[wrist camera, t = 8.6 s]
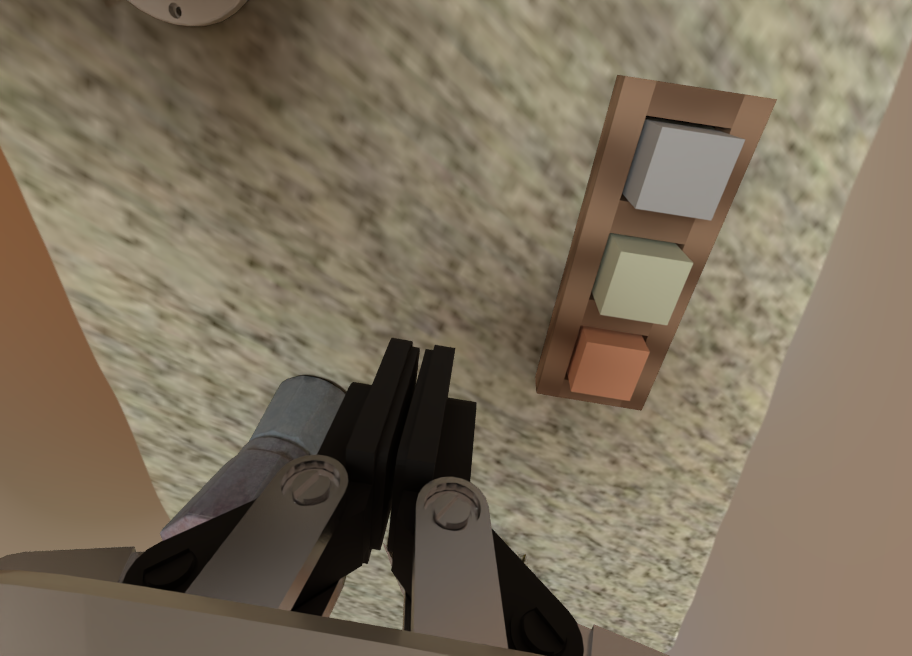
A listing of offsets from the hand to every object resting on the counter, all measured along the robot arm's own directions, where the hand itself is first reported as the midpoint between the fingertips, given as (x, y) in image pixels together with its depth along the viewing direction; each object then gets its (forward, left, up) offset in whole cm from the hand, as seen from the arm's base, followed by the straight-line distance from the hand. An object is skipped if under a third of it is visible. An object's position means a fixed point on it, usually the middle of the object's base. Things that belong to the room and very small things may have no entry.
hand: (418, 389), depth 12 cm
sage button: (+9, -11, -26) cm, 29 cm away
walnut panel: (+9, -11, -27) cm, 31 cm away
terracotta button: (+5, -18, -26) cm, 32 cm away
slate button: (+13, -4, -26) cm, 29 cm away
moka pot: (-24, -16, -27) cm, 40 cm away
